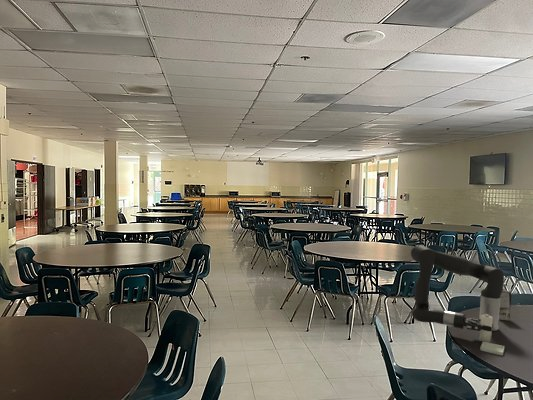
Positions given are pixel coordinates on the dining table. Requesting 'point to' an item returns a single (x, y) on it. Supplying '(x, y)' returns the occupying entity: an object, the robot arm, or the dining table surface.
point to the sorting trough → (492, 348)
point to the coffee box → (505, 305)
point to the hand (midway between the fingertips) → (492, 327)
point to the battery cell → (485, 334)
